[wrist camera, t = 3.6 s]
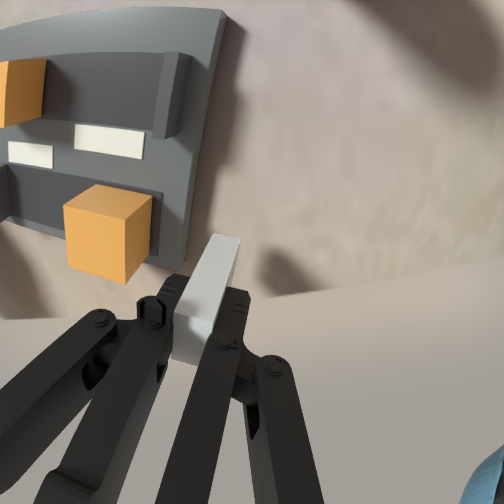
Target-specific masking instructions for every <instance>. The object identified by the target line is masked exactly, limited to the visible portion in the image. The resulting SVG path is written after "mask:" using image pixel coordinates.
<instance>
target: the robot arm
mask: <svg viewBox="0 0 504 504" xmlns="http://www.w3.org/2000/svg"><path fill="white" fill-rule="evenodd" d="M240 242H241V239H238V238H234V237H229V236H225V235H221V234H217V233H213V235H212V237H211V239H210V241H209V242H208V244H207V246H206V248H205V250H204V252H203V254H202V256H201V258H200V260H199V262H198V264H197V266H196V268H195V270H194V272H193V274H192V276H191V278H190V277H186V276H183V275H179V274H175V273H174V274H173V275H171V276H170V277H168V278H167V279H166V280H165V282H164V284H163V286H162V287H161V289H160V290H159V292H158V294H157V295H156V296H145V297H143V298H141V299H139V300H138V301H137V319H134V320H119V319H116V317H115V315H114V314H113V313H112V312H111V311H109V310H106V309H95V310H92V311H91V312H89V313H88V314H86V315H85V316H84V317H83V318H81V319H80V320H79V321H78V322H77V323H75V324H74V325H73V326H72V327H71V328H70V329H68V330H67V331H66V332H65V333H64V334H62V335H61V336H60V337H59V338H58V339H57V340H55V341H54V342H53V343H52V344H51V345H50V346H48V347H47V348H46V349H45V350H44V351H43V352H42V353H40V354H39V355H38V356H37V357H36V358H35V359H34V360H33V361H31V362H30V363H29V364H28V365H27V366H26V367H25V368H24V369H22V370H21V371H20V372H19V373H18V374H17V375H16V376H15V377H14V378H12V379H11V380H10V381H9V382H8V383H7V384H6V385H5V386H4V387H3V388H2V389H1V390H0V494H2V493H4V492H5V491H6V490H8V489H9V488H11V487H12V486H13V485H14V484H15V483H16V482H17V481H18V480H19V479H20V478H21V476H22V475H23V474H24V473H25V472H26V471H27V469H29V468H30V466H31V465H32V464H33V463H34V462H35V461H36V460H37V458H38V457H39V456H40V455H41V454H42V453H43V452H44V451H45V450H46V448H47V447H48V446H49V445H50V444H51V443H52V442H53V441H54V439H55V438H56V437H57V436H58V435H59V434H60V433H61V432H62V431H63V430H64V428H65V427H66V426H67V425H68V424H69V423H70V422H71V421H72V420H73V419H74V417H75V416H76V415H77V414H78V413H79V412H80V411H81V410H82V409H83V407H84V406H85V405H86V404H87V403H88V402H89V401H90V400H91V399H92V400H91V402H90V404H89V406H88V408H87V410H86V412H85V414H84V416H83V418H82V420H81V422H80V424H79V426H78V428H77V430H76V432H75V434H74V436H73V438H72V440H71V442H70V444H69V446H68V448H67V450H66V452H65V454H64V456H63V459H62V461H61V463H60V465H59V466H58V467H57V468H56V469H54V470H52V471H50V472H49V473H48V474H47V475H46V477H45V479H44V480H43V482H42V484H41V487H40V489H39V491H38V494H37V496H36V498H35V500H34V503H33V504H116V503H117V500H118V497H119V495H120V492H121V489H122V486H123V483H124V480H125V478H126V475H127V472H128V469H129V467H130V464H131V461H132V459H133V456H134V453H135V450H136V448H137V445H138V442H139V440H140V436H141V435H142V432H143V429H144V427H145V424H146V421H147V419H148V416H149V413H150V411H151V408H152V406H153V403H154V401H155V398H156V395H157V393H158V390H159V388H160V385H161V383H162V380H163V378H164V375H165V373H166V370H167V366H168V359H169V356H170V354H171V359H175V360H178V361H182V362H185V363H188V364H192V365H196V366H198V369H197V372H196V375H195V378H194V381H193V384H192V387H191V390H190V393H189V397H188V399H187V403H186V405H185V409H184V412H183V415H182V418H181V421H180V424H179V427H178V431H177V434H176V437H175V440H174V443H173V446H172V450H171V453H170V456H169V459H168V462H167V465H166V469H165V472H164V475H163V478H162V482H161V485H160V488H159V491H158V495H157V498H156V501H155V504H208V500H209V495H210V491H211V486H212V482H213V477H214V473H215V468H216V464H217V459H218V455H219V450H220V446H221V441H222V436H223V431H224V427H225V423H226V418H227V413H228V409H229V404H230V399H231V397H232V398H234V399H236V400H238V401H240V402H241V403H243V410H244V419H245V427H246V435H247V443H248V451H249V459H250V467H251V475H252V483H253V490H254V497H255V504H324V501H323V497H322V492H321V488H320V484H319V480H318V476H317V471H316V467H315V463H314V459H313V454H312V450H311V446H310V442H309V438H308V434H307V430H306V426H305V422H304V417H303V413H302V409H301V405H300V401H299V397H298V393H297V389H296V385H295V381H294V377H293V373H292V369H291V367H290V365H289V363H288V362H287V361H286V360H285V359H283V358H281V357H279V356H276V355H266V356H263V357H262V358H261V357H259V356H257V355H255V354H253V353H252V352H250V351H249V350H248V349H247V348H246V346H245V345H244V342H243V335H244V330H245V325H246V320H247V316H248V311H249V305H250V301H251V298H250V296H249V293H248V291H244V290H240V289H236V288H232V287H230V286H231V282H232V279H233V274H234V269H235V265H236V260H237V255H238V251H239V246H240ZM459 504H504V445H503V446H501V447H500V448H499V449H498V450H497V451H495V452H494V453H493V454H492V455H490V456H489V457H488V458H486V459H485V460H484V461H483V462H482V463H481V464H480V465H479V466H478V467H477V469H476V470H475V471H474V473H473V474H472V476H471V477H470V479H469V481H468V483H467V485H466V487H465V489H464V491H463V494H462V496H461V499H460V503H459Z"/></svg>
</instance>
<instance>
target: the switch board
mask: <svg viewBox="0 0 504 504" xmlns="http://www.w3.org/2000/svg"><path fill="white" fill-rule="evenodd" d="M226 21H227V15H226V14H225V13H224V12H223V11H222V10H217V9H205V8H189V7H132V8H116V9H104V10H95V11H87V12H79V13H73V14H66V15H61V16H55V17H50V18H45V19H40V20H36V21H32V22H27V23H23V24H20V25H16V26H12V27H9V28H5V29H2V30H0V62H5V61H12V60H25V59H44V58H47V61H46V68H45V77H44V86H43V97H42V112H41V117H39V118H35V119H32V120H28V121H25V122H21V123H18V124H15V125H11V126H8V127H5V128H0V223H1V222H2V221H4V220H5V221H8V222H11V223H14V224H17V225H20V226H23V227H26V228H30V229H33V230H36V231H39V232H42V233H45V234H49V235H52V236H55V237H58V238H61V239H65V240H66V236H65V225H64V211H63V205H64V204H65V203H67V202H68V201H70V200H72V199H73V198H75V197H76V196H78V195H79V194H81V193H82V192H84V191H86V190H87V189H89V188H91V187H92V186H94V185H95V184H99V185H103V186H108V187H113V188H118V189H123V190H128V191H132V192H137V193H142V194H146V195H151V196H153V197H152V210H151V225H150V243H149V255H148V256H147V257H146V258H145V260H144V261H143V262H144V263H147V264H151V265H155V266H158V267H162V268H166V269H169V270H173V271H177V272H179V270H180V268H181V266H182V265H183V263H184V261H185V257H186V248H187V239H188V231H189V223H190V216H191V208H192V201H193V194H194V187H195V180H196V174H197V167H198V161H199V155H200V149H201V143H202V137H203V131H204V125H205V120H206V114H207V109H208V104H209V99H210V93H211V88H212V83H213V79H214V74H215V69H216V64H217V60H218V55H219V51H220V46H221V42H222V37H223V33H224V29H225V25H226Z"/></svg>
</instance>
